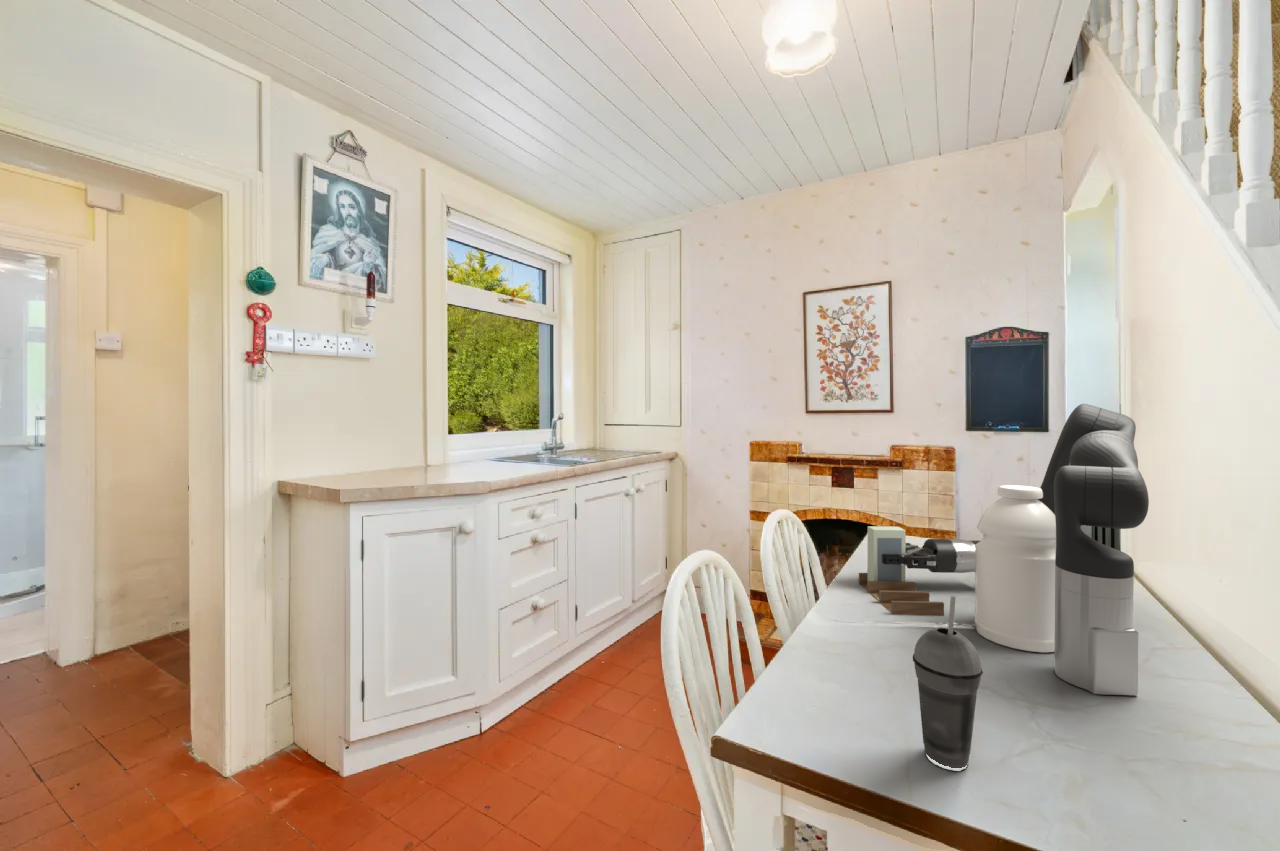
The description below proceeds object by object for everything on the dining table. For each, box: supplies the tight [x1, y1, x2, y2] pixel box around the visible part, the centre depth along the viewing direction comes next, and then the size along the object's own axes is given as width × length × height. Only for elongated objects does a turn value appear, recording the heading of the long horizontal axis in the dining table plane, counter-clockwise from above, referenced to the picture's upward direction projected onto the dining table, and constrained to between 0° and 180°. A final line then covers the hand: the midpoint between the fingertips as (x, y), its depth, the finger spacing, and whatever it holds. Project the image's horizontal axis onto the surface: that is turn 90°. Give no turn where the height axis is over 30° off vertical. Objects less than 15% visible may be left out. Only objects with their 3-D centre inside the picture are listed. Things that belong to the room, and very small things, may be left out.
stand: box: [858, 572, 945, 617], centre depth 116 cm, size 20×10×4 cm, turn 176°
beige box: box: [866, 525, 907, 585], centre depth 122 cm, size 4×7×14 cm, turn 86°
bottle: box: [973, 484, 1056, 653], centre depth 98 cm, size 14×14×28 cm
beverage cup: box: [912, 595, 984, 768], centre depth 63 cm, size 7×7×20 cm
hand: (876, 554), depth 123 cm, fingers open, 7 cm apart
